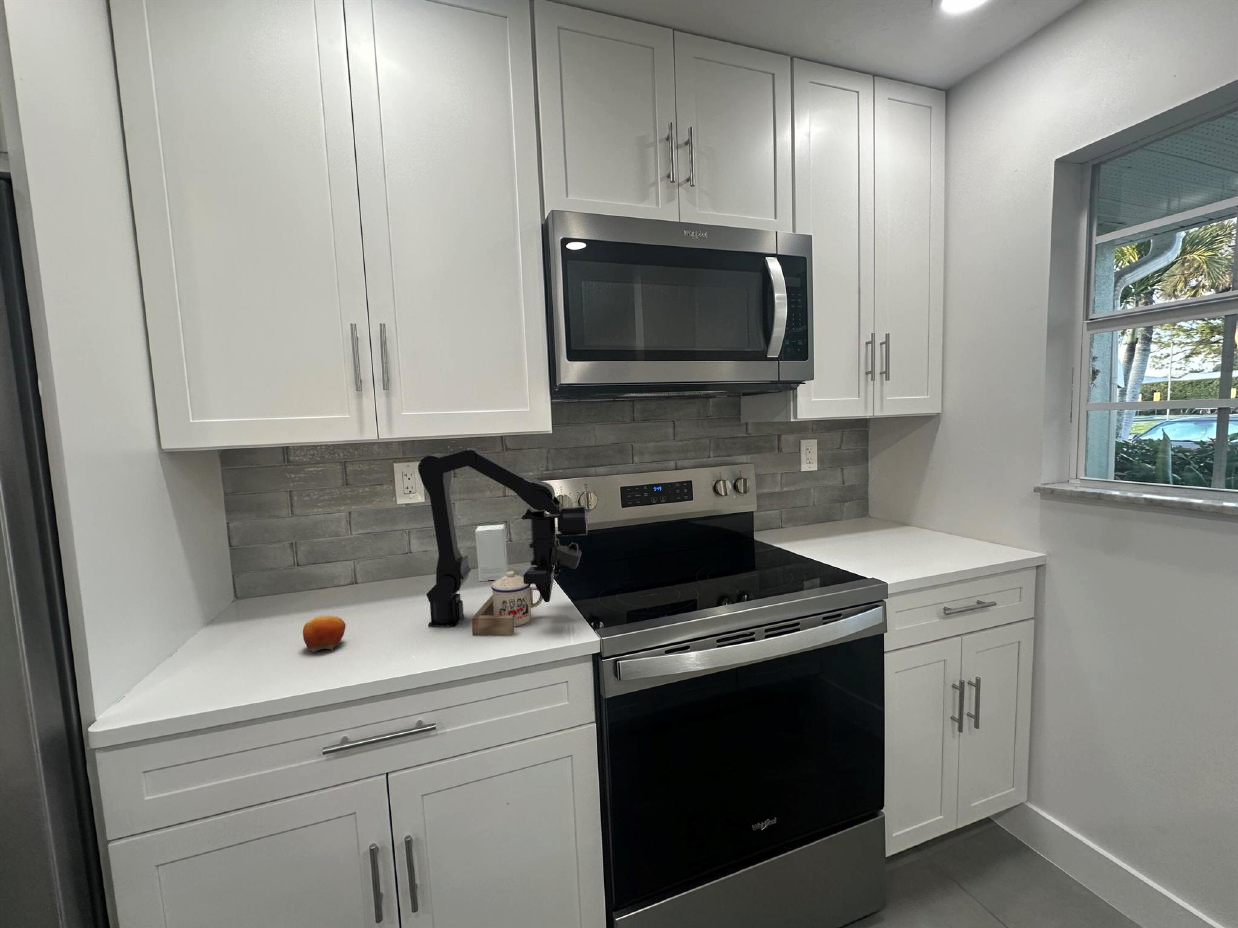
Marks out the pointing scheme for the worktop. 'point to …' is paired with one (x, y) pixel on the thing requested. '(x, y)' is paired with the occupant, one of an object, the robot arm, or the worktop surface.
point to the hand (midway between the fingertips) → (547, 601)
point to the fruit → (323, 632)
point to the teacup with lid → (513, 598)
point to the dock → (493, 621)
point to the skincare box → (491, 552)
